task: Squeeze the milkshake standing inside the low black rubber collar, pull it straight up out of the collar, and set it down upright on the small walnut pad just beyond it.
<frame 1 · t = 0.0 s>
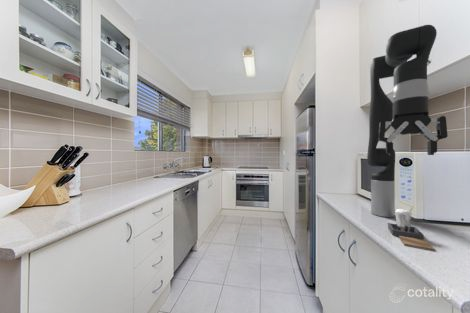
hand: (409, 155, 53), 29 cm above the countertop, tool pointing down, fingers open, 8 cm apart
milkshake: (404, 234, 68), on the countertop
collar: (404, 233, 68), on the countertop
pad: (415, 243, 61), on the countertop
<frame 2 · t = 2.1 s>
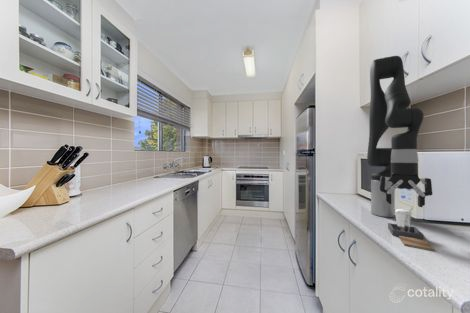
hand: (404, 205, 68), 11 cm above the countertop, tool pointing down, fingers open, 8 cm apart
nothing on the countertop moved.
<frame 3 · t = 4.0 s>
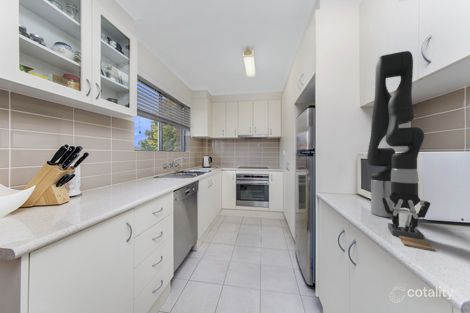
hand: (404, 226, 68), 3 cm above the countertop, tool pointing down, fingers closed on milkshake, 4 cm apart
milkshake: (404, 234, 68), on the countertop, touching gripper
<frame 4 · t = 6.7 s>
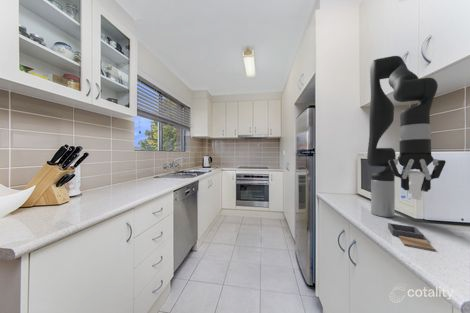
hand: (415, 190, 61), 18 cm above the countertop, tool pointing down, fingers closed on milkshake, 4 cm apart
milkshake: (415, 199, 61), point 15 cm above the countertop, touching gripper
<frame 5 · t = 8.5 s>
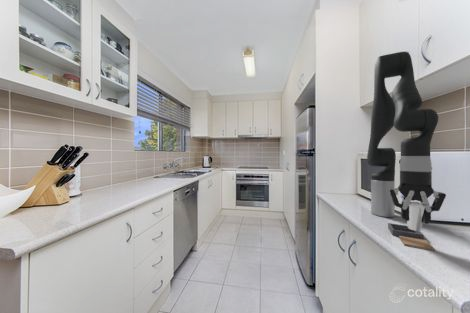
hand: (415, 221, 61), 7 cm above the countertop, tool pointing down, fingers closed on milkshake, 4 cm apart
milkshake: (415, 230, 61), point 5 cm above the countertop, touching gripper
when the fingers open (5 cm above the countertop, at t = 9.9 s): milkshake drops 1 cm, resting on pad.
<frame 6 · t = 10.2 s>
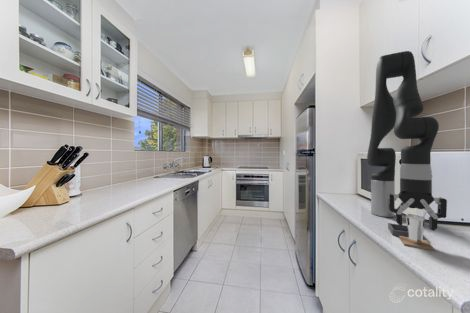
hand: (415, 227, 61), 5 cm above the countertop, tool pointing down, fingers open, 7 cm apart
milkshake: (416, 242, 61), resting on pad
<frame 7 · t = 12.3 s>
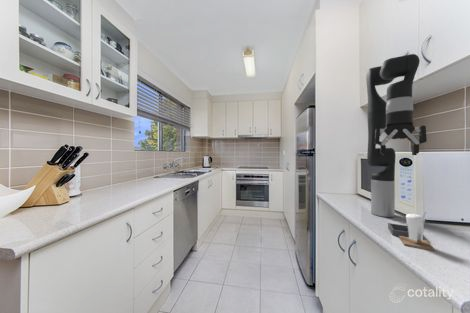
hand: (398, 155, 68), 29 cm above the countertop, tool pointing down, fingers open, 8 cm apart
nothing on the countertop moved.
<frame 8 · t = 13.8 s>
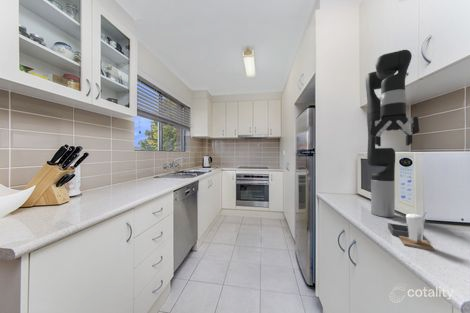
hand: (392, 145, 71), 33 cm above the countertop, tool pointing down, fingers open, 8 cm apart
nothing on the countertop moved.
at the end: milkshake 0.3 cm off-centre on the pad, point 0.4 cm above the pad's base; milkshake tilted 0°; the gripper is holding nothing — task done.
